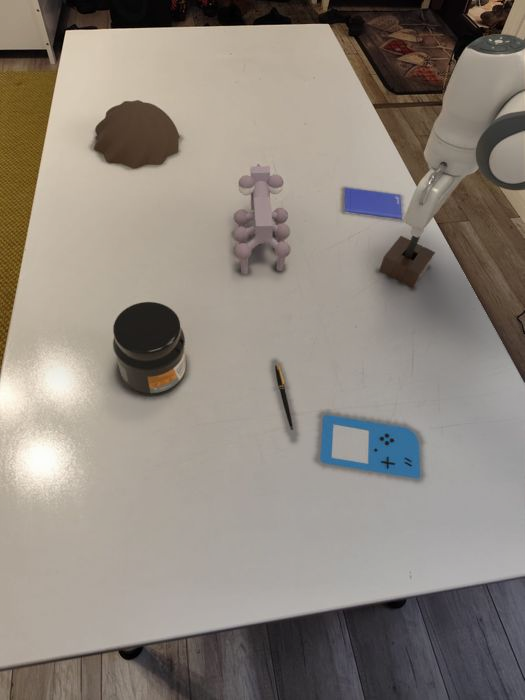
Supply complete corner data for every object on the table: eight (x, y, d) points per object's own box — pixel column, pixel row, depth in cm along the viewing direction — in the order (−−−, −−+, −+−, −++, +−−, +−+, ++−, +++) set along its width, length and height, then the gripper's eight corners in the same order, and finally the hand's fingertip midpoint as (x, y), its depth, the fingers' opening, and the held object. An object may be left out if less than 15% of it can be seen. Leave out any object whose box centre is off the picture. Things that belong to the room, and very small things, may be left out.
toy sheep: (230, 209, 110) (232, 152, 99) (280, 210, 111) (288, 154, 100) (233, 278, 98) (236, 222, 87) (289, 279, 99) (299, 223, 88)
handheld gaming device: (421, 478, 76) (319, 461, 76) (418, 481, 77) (318, 465, 77) (419, 428, 81) (323, 413, 81) (416, 431, 82) (322, 416, 82)
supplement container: (197, 384, 84) (196, 339, 74) (135, 410, 80) (125, 366, 70) (170, 337, 89) (166, 289, 79) (111, 359, 85) (98, 312, 75)
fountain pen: (297, 441, 79) (298, 437, 78) (289, 442, 79) (291, 438, 78) (278, 364, 87) (279, 359, 86) (271, 365, 87) (272, 360, 86)
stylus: (405, 271, 103) (427, 220, 92) (402, 276, 102) (424, 224, 92) (399, 268, 103) (420, 216, 93) (396, 272, 102) (417, 221, 92)
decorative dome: (156, 115, 128) (153, 74, 120) (195, 158, 119) (194, 116, 111) (81, 134, 121) (71, 92, 113) (116, 181, 112) (109, 139, 104)
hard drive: (400, 193, 115) (345, 186, 115) (402, 217, 110) (344, 210, 110) (398, 199, 116) (343, 192, 116) (400, 223, 111) (343, 215, 111)
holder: (426, 270, 104) (435, 252, 99) (411, 292, 100) (419, 273, 96) (393, 254, 106) (400, 235, 102) (377, 274, 102) (384, 256, 98)
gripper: (448, 190, 75) (419, 260, 86) (495, 129, 85) (464, 199, 96) (408, 173, 76) (385, 244, 88) (459, 115, 87) (432, 185, 98)
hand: (426, 219), depth 92 cm, fingers open, 8 cm apart
